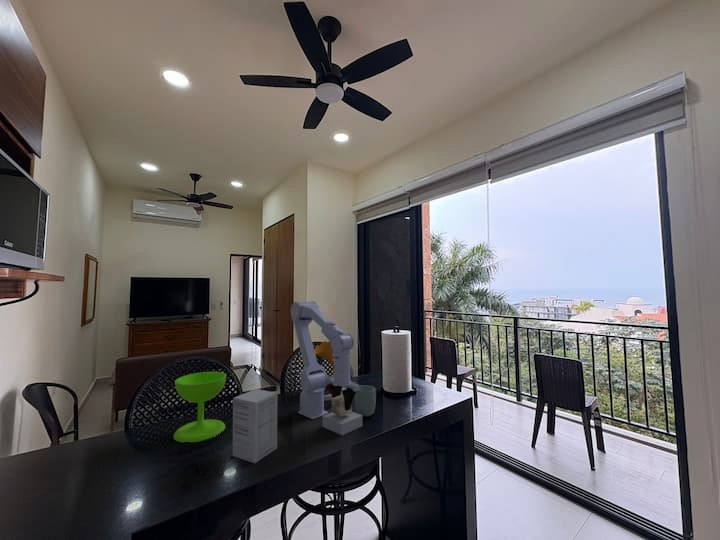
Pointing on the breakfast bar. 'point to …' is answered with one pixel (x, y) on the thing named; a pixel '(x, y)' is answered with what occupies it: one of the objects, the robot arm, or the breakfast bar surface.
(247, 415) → the supplement box
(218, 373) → the wineglass
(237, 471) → the breakfast bar surface
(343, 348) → the robot arm
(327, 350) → the gramophone
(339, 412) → the maple cube
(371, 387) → the cup
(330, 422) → the grey base block
